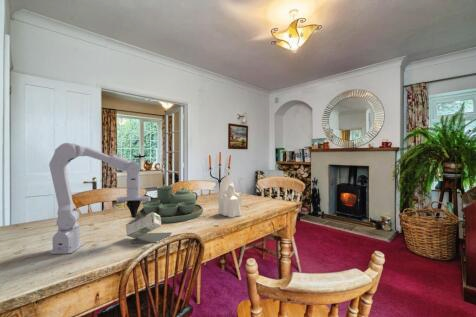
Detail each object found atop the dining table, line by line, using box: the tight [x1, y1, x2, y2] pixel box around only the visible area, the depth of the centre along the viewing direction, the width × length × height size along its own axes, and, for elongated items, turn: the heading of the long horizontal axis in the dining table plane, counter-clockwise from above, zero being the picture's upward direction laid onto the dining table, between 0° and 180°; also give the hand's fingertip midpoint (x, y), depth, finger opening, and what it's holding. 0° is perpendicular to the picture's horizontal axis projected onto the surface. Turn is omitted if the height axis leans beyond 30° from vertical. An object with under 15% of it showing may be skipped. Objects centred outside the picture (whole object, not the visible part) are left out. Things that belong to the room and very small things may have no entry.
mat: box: [130, 232, 172, 245], centre depth 109 cm, size 12×15×1 cm
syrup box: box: [125, 212, 162, 239], centre depth 107 cm, size 6×6×14 cm
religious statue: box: [217, 167, 251, 218], centre depth 150 cm, size 17×14×30 cm
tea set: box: [137, 185, 204, 224], centre depth 151 cm, size 40×40×16 cm
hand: (134, 216), depth 107 cm, fingers closed
